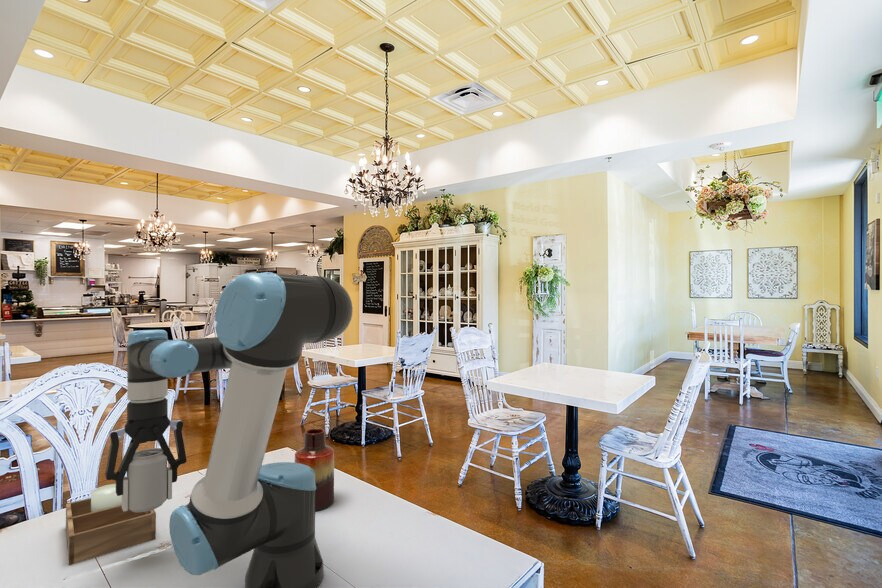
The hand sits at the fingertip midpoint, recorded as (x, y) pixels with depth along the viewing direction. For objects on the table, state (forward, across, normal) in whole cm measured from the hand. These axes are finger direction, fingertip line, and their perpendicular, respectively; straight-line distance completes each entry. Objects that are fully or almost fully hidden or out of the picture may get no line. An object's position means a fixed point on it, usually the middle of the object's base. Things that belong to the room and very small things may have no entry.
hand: (147, 502), depth 97 cm
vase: (+13, -40, -1) cm, 42 cm away
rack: (+12, +5, -17) cm, 21 cm away
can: (+1, 0, 0) cm, 1 cm away
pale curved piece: (+11, +5, -22) cm, 25 cm away
